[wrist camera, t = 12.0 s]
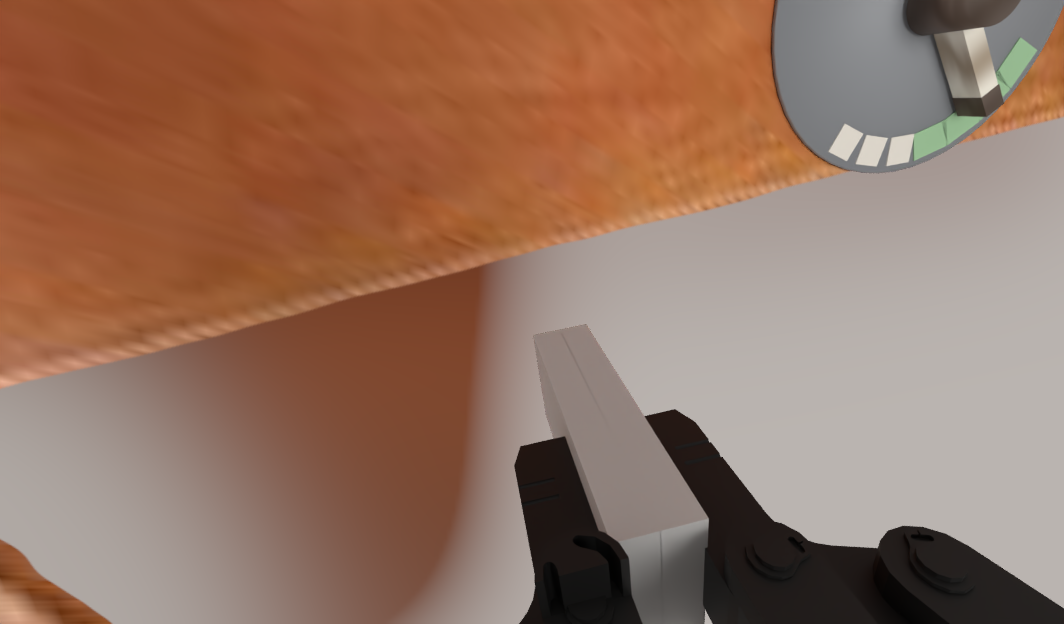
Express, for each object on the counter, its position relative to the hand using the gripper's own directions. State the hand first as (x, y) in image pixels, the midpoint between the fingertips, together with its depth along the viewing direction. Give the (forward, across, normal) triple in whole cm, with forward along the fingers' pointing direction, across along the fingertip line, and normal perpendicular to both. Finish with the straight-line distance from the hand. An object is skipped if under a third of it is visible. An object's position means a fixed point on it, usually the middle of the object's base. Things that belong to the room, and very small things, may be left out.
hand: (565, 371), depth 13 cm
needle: (+29, +42, +6) cm, 51 cm away
